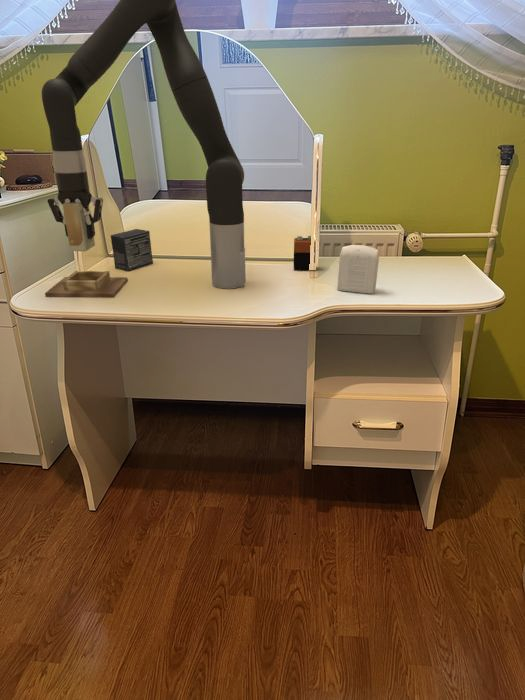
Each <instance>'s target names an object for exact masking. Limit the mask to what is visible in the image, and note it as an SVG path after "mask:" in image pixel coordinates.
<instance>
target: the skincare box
mask: <svg viewBox="0 0 525 700" xmlns="http://www.w3.org/2000/svg"><path fill="white" fill-rule="evenodd" d="M89 209H90V210H91V208H90V207H89ZM62 210H63V213H64V215H63V217H64V216H65V221H66V227H67V233H68V237H67V239H68V245H69V249H70V252H88V251H89V250H90V249H92V248H93V247H95V246H96V242H95V236H93V238H92V239H88V233H87V227H86V225H87V223H86V221H85V219H84V216H83V213H82V212H83V211H82V206H81V204H80V203H76V202H71V203H64V204H63V205H62ZM86 212H87V209H86Z"/></svg>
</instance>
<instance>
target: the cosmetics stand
mask: <svg viewBox="0 0 525 700" xmlns="http://www.w3.org/2000/svg"><path fill="white" fill-rule="evenodd" d="M128 281H129V279H128V277H124V276H123V277H120V276H118V277H116V276H113V277H111V274H110V270H75V271H73V272H72V273H71V274H70V275H68V276H64V277H63V278H62V279H61V280H60V281H58V282H57V283H55V284H54V285H53V286H52V287H51V288H49V289H48V290H47V291H45V292H44V296H45V297H46V298H115V297H116V295H117V294H118V293H119V292H120V291H121V289H123V288H124V287H125V285H126V284H127V282H128Z"/></svg>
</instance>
